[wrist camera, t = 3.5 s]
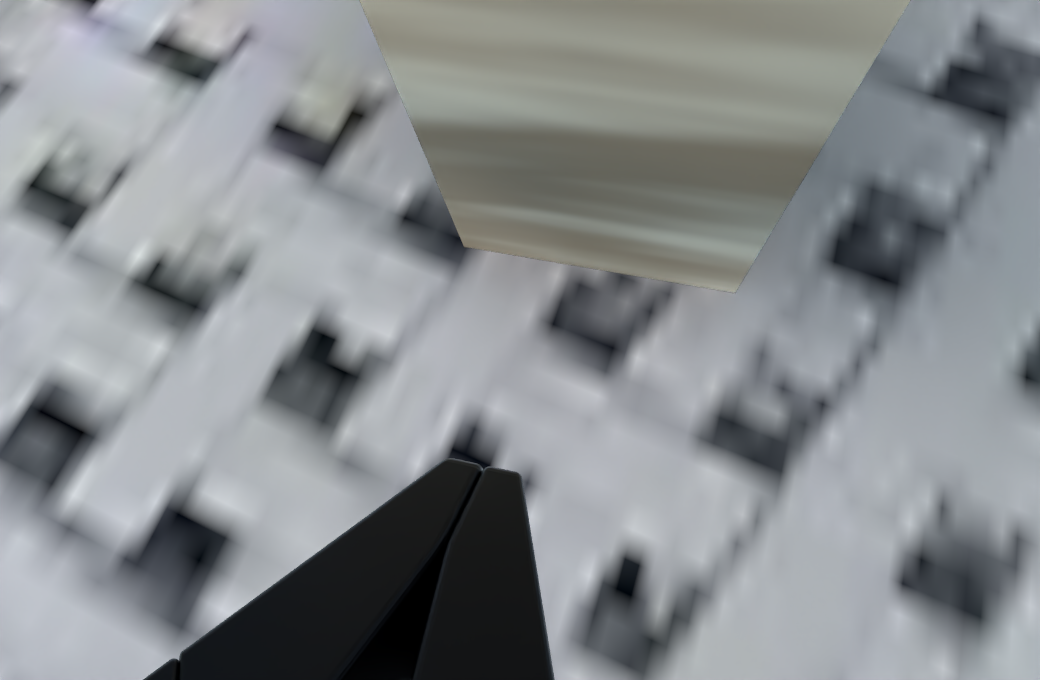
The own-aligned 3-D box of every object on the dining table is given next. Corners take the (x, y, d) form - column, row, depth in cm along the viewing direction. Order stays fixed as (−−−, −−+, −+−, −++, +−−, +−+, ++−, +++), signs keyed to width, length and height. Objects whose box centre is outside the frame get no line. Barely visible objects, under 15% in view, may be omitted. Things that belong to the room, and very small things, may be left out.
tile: (735, 292, 21) (1079, -281, 6) (463, 246, 22) (219, -329, 7) (751, 185, 21) (1088, -543, 7) (489, 146, 23) (314, -550, 8)
